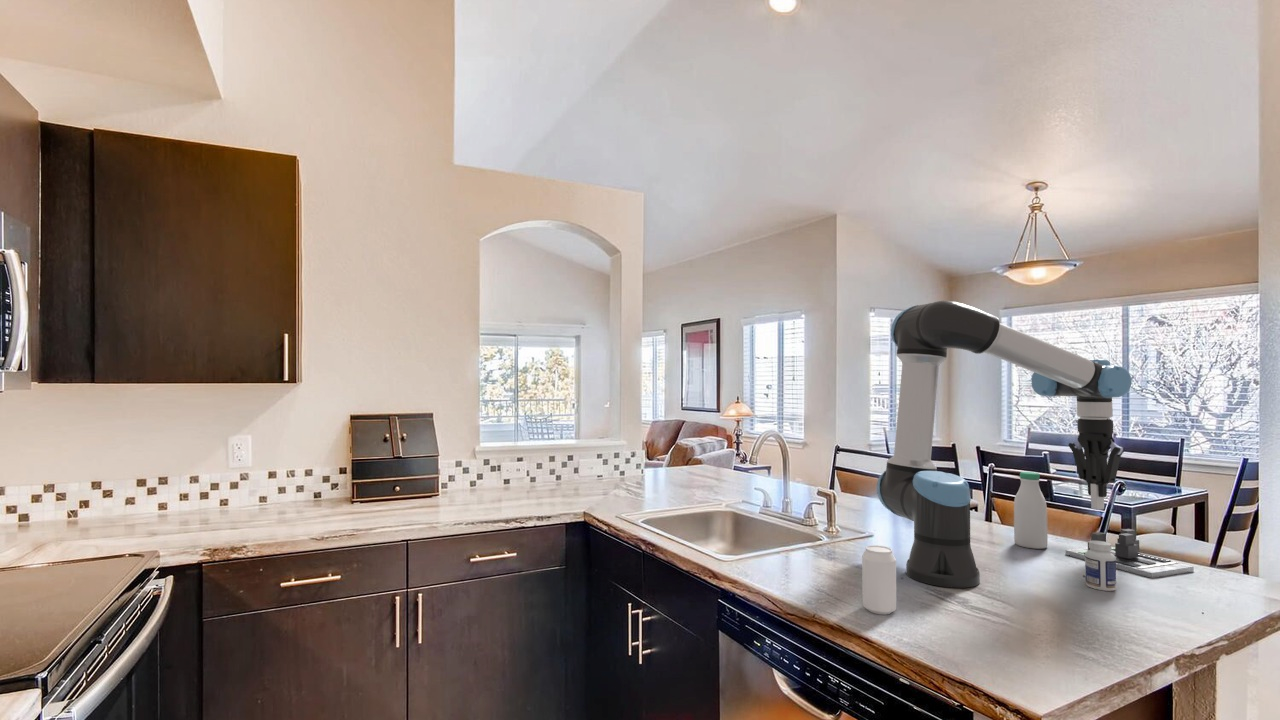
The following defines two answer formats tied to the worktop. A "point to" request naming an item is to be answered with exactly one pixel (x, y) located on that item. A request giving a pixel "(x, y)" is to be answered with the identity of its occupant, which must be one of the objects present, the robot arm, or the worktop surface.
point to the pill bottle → (1100, 566)
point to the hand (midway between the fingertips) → (1097, 508)
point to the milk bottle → (1030, 513)
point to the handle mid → (1126, 546)
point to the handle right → (1130, 533)
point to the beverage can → (879, 580)
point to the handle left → (1097, 537)
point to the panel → (1141, 564)
